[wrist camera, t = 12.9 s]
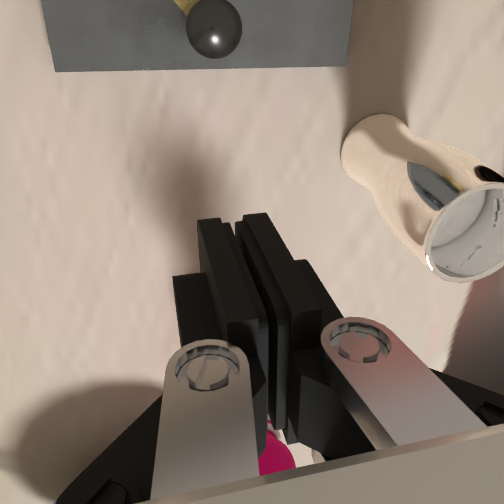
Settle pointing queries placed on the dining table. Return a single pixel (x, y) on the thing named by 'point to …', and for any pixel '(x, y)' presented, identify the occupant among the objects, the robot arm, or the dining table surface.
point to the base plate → (176, 41)
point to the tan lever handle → (211, 26)
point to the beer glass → (430, 197)
